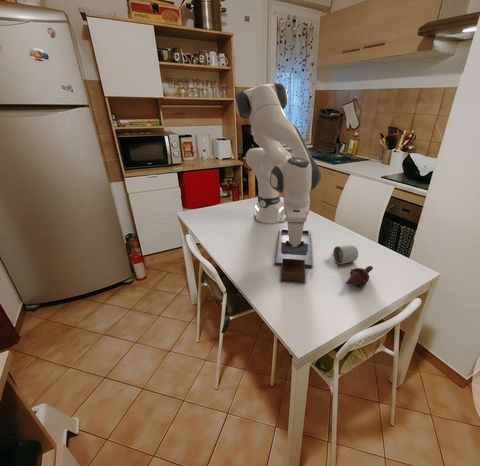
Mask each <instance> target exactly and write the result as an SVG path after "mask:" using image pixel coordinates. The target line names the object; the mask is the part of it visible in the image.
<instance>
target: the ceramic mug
mask: <svg viewBox="0 0 480 466" xmlns="http://www.w3.org/2000/svg"><path fill="white" fill-rule="evenodd" d="M332 254H333V259H334V261H335V262H336V264H338V265H343V264H347V263H348V264H349V263H353V262H356V261H357V260H358V257H359V251H358V248H357V247H356V246H355V245H353V244H346V245H345V244H344V245H336V246H334V248H333V252H332Z"/></svg>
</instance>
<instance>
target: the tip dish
mask: <svg viewBox="0 0 480 466" xmlns="http://www.w3.org/2000/svg"><path fill="white" fill-rule="evenodd" d="M281 252H282V254H290V255H307V253H308V244H307V243H304V241H301V243H300V244H299V245H297V247H293V246H292V244H290V243H289V240H286V242H281Z"/></svg>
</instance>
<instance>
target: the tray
mask: <svg viewBox="0 0 480 466" xmlns="http://www.w3.org/2000/svg"><path fill="white" fill-rule="evenodd" d="M286 240H289V237H288V228H280V229H279V235H278V242H277V248H276V255H275V259H274V260H275V261H274V266H276V267H282V260H283V259H298V260H305V269H307V268H308V269H312V267H313V261H312V260H313V259H312V247H311V246H312V245H311V244H312V243H311V242H312V241H311V231H310V229H309V230H307V229H303V233H302V239H301V241H304V243H307V244H308V253H307V255H290V254H282V252H281V242H286Z"/></svg>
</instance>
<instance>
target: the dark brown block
mask: <svg viewBox="0 0 480 466" xmlns="http://www.w3.org/2000/svg"><path fill="white" fill-rule="evenodd" d="M305 281H306V268H305V260H298V259H283V260H282V266H281V268H280V282H281V283H293V284H305Z"/></svg>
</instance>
